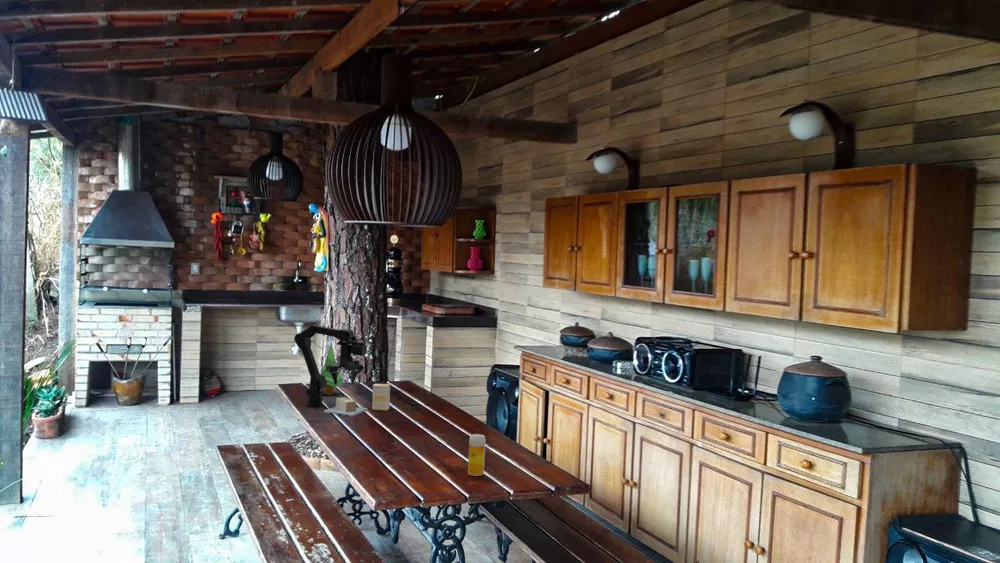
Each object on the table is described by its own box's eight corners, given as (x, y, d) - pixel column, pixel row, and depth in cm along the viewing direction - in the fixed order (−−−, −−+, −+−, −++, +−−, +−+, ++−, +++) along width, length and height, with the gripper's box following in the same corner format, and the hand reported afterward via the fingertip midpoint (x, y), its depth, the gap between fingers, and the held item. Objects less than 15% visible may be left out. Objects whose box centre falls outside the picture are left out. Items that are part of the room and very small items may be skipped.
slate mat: (323, 412, 362) (323, 410, 362) (339, 406, 377) (340, 404, 377) (352, 416, 357) (352, 414, 357) (367, 410, 372) (367, 408, 372)
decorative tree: (332, 390, 417) (334, 339, 416) (346, 395, 405) (348, 342, 404) (310, 393, 408) (313, 340, 406) (324, 398, 396) (327, 343, 395)
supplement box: (389, 409, 378) (390, 384, 377) (387, 411, 373) (388, 385, 372) (374, 408, 378) (375, 383, 378) (371, 409, 374) (372, 384, 373)
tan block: (336, 397, 370) (347, 402, 361) (345, 397, 373) (356, 401, 364) (335, 407, 370) (346, 412, 361) (344, 406, 373) (355, 411, 364)
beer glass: (467, 472, 277) (469, 433, 276) (483, 472, 277) (485, 434, 277) (467, 477, 271) (470, 437, 270) (484, 477, 271) (486, 438, 271)
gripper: (335, 357, 359) (334, 388, 360) (369, 355, 370) (367, 386, 371) (326, 353, 368) (324, 384, 368) (359, 352, 379) (357, 382, 380)
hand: (344, 384), depth 372 cm, fingers open, 9 cm apart
